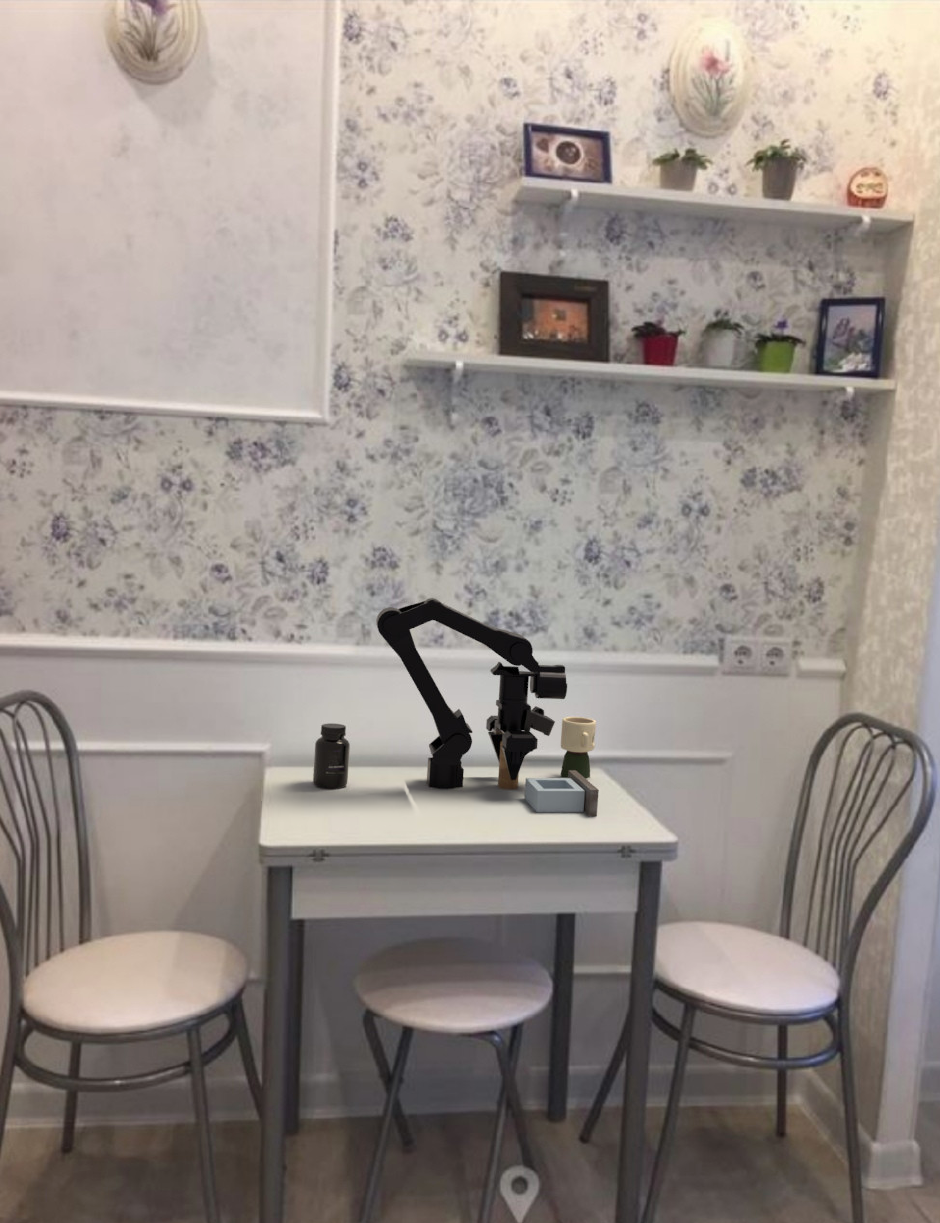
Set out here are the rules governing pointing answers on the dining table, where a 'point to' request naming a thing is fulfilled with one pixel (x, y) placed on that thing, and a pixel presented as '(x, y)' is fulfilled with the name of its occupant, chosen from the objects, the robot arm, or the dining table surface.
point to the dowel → (505, 774)
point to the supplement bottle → (331, 757)
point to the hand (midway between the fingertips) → (508, 774)
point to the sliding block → (554, 795)
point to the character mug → (577, 744)
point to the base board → (586, 792)
